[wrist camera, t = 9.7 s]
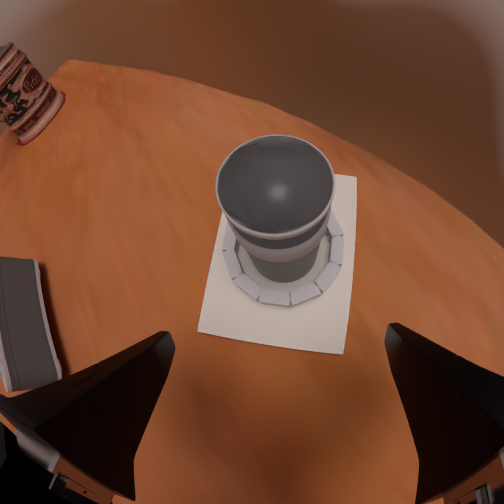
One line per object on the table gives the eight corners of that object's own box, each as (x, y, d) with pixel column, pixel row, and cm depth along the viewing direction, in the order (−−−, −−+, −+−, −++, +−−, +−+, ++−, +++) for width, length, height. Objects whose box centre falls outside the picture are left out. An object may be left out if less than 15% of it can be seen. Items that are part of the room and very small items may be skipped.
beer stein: (78, 104, 42) (52, 90, 46) (27, 1, 16) (10, 11, 20) (21, 162, 38) (5, 137, 41) (-52, 71, 11) (-49, 65, 15)
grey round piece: (300, 296, 22) (305, 258, 12) (236, 265, 24) (192, 207, 13) (329, 234, 23) (352, 157, 13) (268, 207, 25) (250, 122, 14)
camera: (41, 251, 27) (-29, 242, 18) (70, 379, 22) (-16, 389, 12) (26, 287, 30) (-32, 283, 21) (52, 394, 25) (-14, 403, 16)
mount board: (341, 354, 21) (347, 355, 18) (200, 331, 23) (189, 330, 21) (355, 181, 25) (360, 165, 23) (235, 169, 28) (229, 154, 25)
